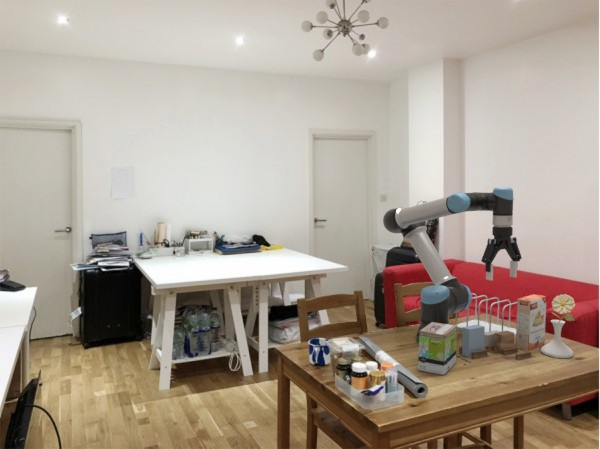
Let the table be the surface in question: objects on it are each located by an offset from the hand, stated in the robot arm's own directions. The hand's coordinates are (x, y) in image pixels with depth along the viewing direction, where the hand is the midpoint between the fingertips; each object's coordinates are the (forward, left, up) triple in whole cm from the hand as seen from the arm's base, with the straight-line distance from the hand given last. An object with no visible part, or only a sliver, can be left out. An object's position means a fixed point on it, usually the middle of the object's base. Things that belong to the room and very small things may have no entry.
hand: (501, 278), depth 203 cm
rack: (+4, -7, -29) cm, 30 cm away
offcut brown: (+4, -7, -28) cm, 29 cm away
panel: (-3, -18, -28) cm, 33 cm away
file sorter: (-13, +19, -29) cm, 37 cm away
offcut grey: (-2, -4, -28) cm, 28 cm away
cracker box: (+9, +9, -29) cm, 32 cm away
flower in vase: (+21, +4, -29) cm, 36 cm away
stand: (-3, -18, -29) cm, 34 cm away
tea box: (-9, -36, -29) cm, 47 cm away
